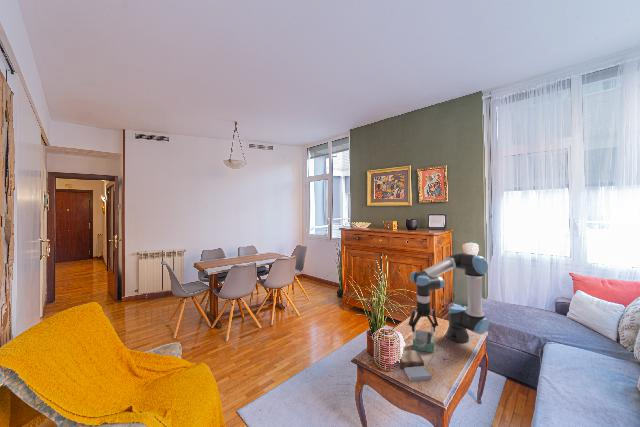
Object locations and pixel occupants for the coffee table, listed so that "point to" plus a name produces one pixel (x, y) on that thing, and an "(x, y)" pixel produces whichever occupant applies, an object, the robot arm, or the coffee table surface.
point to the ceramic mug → (423, 338)
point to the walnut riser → (410, 359)
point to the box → (426, 347)
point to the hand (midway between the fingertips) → (423, 336)
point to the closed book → (417, 373)
